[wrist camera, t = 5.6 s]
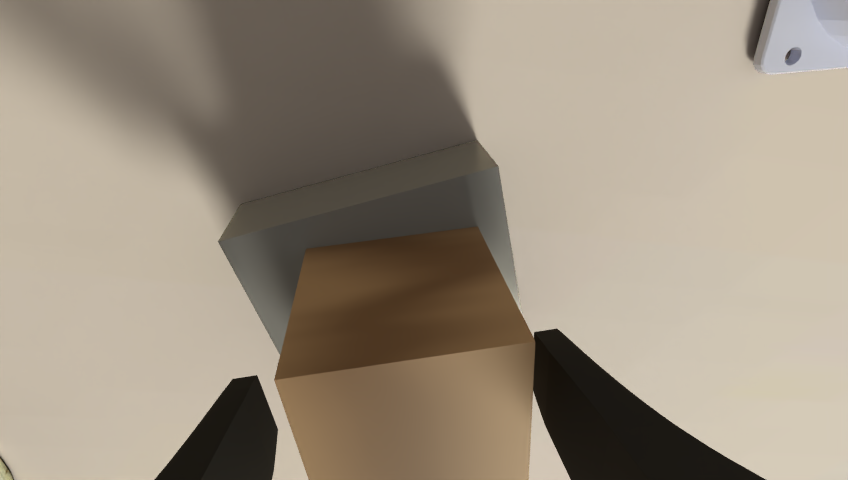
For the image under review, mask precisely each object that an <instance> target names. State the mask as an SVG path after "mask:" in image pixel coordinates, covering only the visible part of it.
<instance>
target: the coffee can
mask: <svg viewBox="0 0 848 480" xmlns="http://www.w3.org/2000/svg"><path fill="white" fill-rule="evenodd" d="M0 480H14V479H13V477H12V475H11V473H10V471H9V470H8V468H7V467H6V465H5V464H4V463H3V461H2V460H1V459H0Z"/></svg>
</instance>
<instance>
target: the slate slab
mask: <svg viewBox="0 0 848 480" xmlns="http://www.w3.org/2000/svg"><path fill="white" fill-rule="evenodd" d="M477 226H478V228H479V230H480V232H481V234H482V236H483V238H484V240H485V242H486V244H487V246H488V248H489V250H490V252H491V254H492V256H493V258H494V260H495V262H496V264H497V266H498V268H499V270H500V272H501V274H502V276H503V278H504V280H505V282H506V284H507V286H508V288H509V290H510V292H511V294H512V296H513V298H514V300H515V302H516V304H517V306H518V308H519V310H520V312H521V314H522V310H521V304H520V298H519V292H518V286H517V279H516V273H515V267H514V261H513V255H512V248H511V242H510V236H509V230H508V224H507V217H506V211H505V205H504V199H503V192H502V186H501V180H500V174H499V168H498V165H497V164H496V163H495V162H494V160H493V159H492V158H491V157H490V155H489V154H488V153H487V152H486V150H485V149H484V148H483V147H482V145H481V144H480V143H479V142H478V140H476V141H473V142H469V143H465V144H461V145H458V146H454V147H450V148H447V149H443V150H439V151H436V152H432V153H428V154H424V155H421V156H417V157H413V158H410V159H406V160H402V161H399V162H395V163H391V164H388V165H384V166H380V167H376V168H373V169H369V170H365V171H362V172H358V173H354V174H351V175H347V176H343V177H339V178H336V179H332V180H328V181H325V182H321V183H317V184H314V185H310V186H306V187H303V188H299V189H295V190H291V191H288V192H284V193H280V194H277V195H273V196H269V197H266V198H262V199H258V200H254V201H251V202H247V203H243V204H241V205H240V207H239V208H238V210H237V211H236V213H235V215H234V216H233V218H232V220H231V221H230V223H229V225H228V226H227V228H226V229H225V231H224V233H223V234H222V236H221V238H220V239H219V241H218V242H219V244H220V246H221V248H222V250H223V252H224V253H225V255H226V257H227V259H228V261H229V263H230V264H231V266H232V268H233V270H234V272H235V274H236V275H237V277H238V279H239V281H240V283H241V284H242V286H243V288H244V290H245V292H246V294H247V295H248V297H249V299H250V301H251V303H252V305H253V306H254V308H255V310H256V312H257V314H258V316H259V317H260V319H261V321H262V323H263V325H264V326H265V328H266V330H267V332H268V334H269V336H270V337H271V339H272V341H273V343H274V345H275V347H276V348H277V350H278V352H279V354H280V355H281V351H282V346H283V342H284V338H285V334H286V330H287V326H288V321H289V317H290V313H291V309H292V305H293V301H294V297H295V292H296V288H297V284H298V280H299V276H300V272H301V268H302V263H303V259H304V255H305V251H306V249H308V248H316V247H324V246H331V245H339V244H347V243H354V242H362V241H370V240H377V239H385V238H393V237H400V236H408V235H416V234H423V233H431V232H439V231H446V230H454V229H462V228H469V227H477Z"/></svg>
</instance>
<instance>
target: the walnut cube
mask: <svg viewBox="0 0 848 480" xmlns="http://www.w3.org/2000/svg"><path fill="white" fill-rule="evenodd" d="M534 359H535V340H534V338H533V336H532V334H531V332H530V330H529V328H528V326H527V324H526V322H525V320H524V318H523V316H522V314H521V312H520V310H519V308H518V306H517V304H516V302H515V300H514V298H513V296H512V294H511V292H510V290H509V288H508V286H507V284H506V282H505V280H504V278H503V276H502V274H501V272H500V270H499V268H498V266H497V264H496V262H495V260H494V258H493V256H492V254H491V252H490V250H489V248H488V246H487V244H486V242H485V240H484V238H483V236H482V234H481V232H480V230H479V228H478V226H477V227H469V228H462V229H454V230H446V231H439V232H431V233H423V234H416V235H408V236H400V237H393V238H385V239H377V240H370V241H362V242H354V243H347V244H339V245H331V246H324V247H316V248H308V249H306V251H305V255H304V259H303V263H302V268H301V272H300V276H299V280H298V284H297V288H296V292H295V297H294V301H293V305H292V309H291V313H290V317H289V321H288V326H287V330H286V334H285V338H284V342H283V346H282V351H281V355H280V359H279V363H278V367H277V371H276V375H275V383H276V386H277V389H278V392H279V395H280V398H281V401H282V404H283V406H284V409H285V412H286V415H287V418H288V421H289V424H290V427H291V430H292V432H293V435H294V438H295V441H296V444H297V447H298V450H299V453H300V456H301V458H302V461H303V464H304V467H305V470H306V473H307V476H308V479H309V480H528V479H529V459H530V439H531V419H532V399H533V379H534Z"/></svg>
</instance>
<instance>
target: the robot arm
mask: <svg viewBox="0 0 848 480" xmlns="http://www.w3.org/2000/svg"><path fill="white" fill-rule="evenodd" d="M790 49H791V53H790V56H789V58H788V59H787V60H786V61H785V56H786V54H787V52H788V51H789V50H790ZM753 64H754V67H755V70H757V71H758V72H760V73H765V74H782V73H794V72H806V71H817V70H829V69H840V68H848V0H770V2H769V6H768V10H767V13H766V17H765V20H764V24H763V27H762V31H761V35H760V38H759V42H758V45H757V49H756V52H755V56H754V63H753ZM534 340H535V359H534V379H533V391H534V394H535V397H536V400H537V403H538V406H539V409H540V412H541V415H542V418H543V420H544V423H545V426H546V428H547V430H548V432H549V434H550V437H551V439H552V441H553V443H554V445H555V447H556V449H557V452H558V454H559V456H560V458H561V460H562V462H563V464H564V466H565V468H566V470H567V473H568V475H569V477H570V479H571V480H766V479H764V478H762V477H760V476H758V475H757V474H755V473H753V472H751V471H750V470H748V469H746V468H744V467H743V466H741V465H739V464H737V463H735V462H734V461H732V460H730V459H728V458H727V457H725V456H723V455H722V454H720V453H718V452H717V451H715V450H713V449H712V448H710V447H708V446H707V445H705V444H704V443H702V442H701V441H699V440H698V439H696V438H694V437H693V436H691V435H690V434H688V433H687V432H685V431H684V430H682V429H681V428H679V427H678V426H676V425H675V424H673V423H672V422H670V421H669V420H668V419H666V418H665V417H663V416H662V415H661V414H659V413H658V412H656V411H655V410H654V409H652V408H651V407H650V406H648V405H647V404H646V403H644V402H643V401H642V400H640V399H639V398H638V397H637V396H635V395H634V394H633V393H631V392H630V391H629V390H628V389H626V388H625V387H624V386H623V385H622V384H620V383H619V382H618V381H617V380H615V379H614V378H613V377H612V376H611V375H609V374H608V373H607V372H606V371H605V370H603V369H602V368H601V367H600V366H599V365H598V364H596V363H595V362H594V361H593V360H592V359H591V358H590V357H588V356H587V355H586V354H585V353H584V352H583V351H582V350H581V349H579V348H578V347H577V346H576V345H575V344H574V343H573V342H572V341H571V340H569V339H568V338H567V337H566V336H565V335H564V334H563V333H562V332H560V331H559V330H558V329H552V330H546V331H539V332H534ZM277 433H278V428H277V426H276V423H275V421H274V418H273V415H272V413H271V410H270V408H269V405H268V402H267V400H266V397H265V395H264V392H263V389H262V387H261V384H260V382H259V379H258V376H257V375H256V376H250V377H243V378H237V379H233V380H232V381H231V382H230V383H229V385H228V386H227V387H226V388H225V390H224V391H223V392H222V394H221V395H220V396H219V398H218V399H217V400H216V402H215V403H214V404H213V406H212V407H211V408H210V410H209V411H208V412H207V414H206V415H205V416H204V418H203V419H202V420H201V422H200V423H199V424H198V426H197V427H196V428H195V430H194V431H193V432H192V434H191V435H190V436H189V437H188V439H187V440H186V441H185V443H184V444H183V445H182V446H181V448H180V449H179V450H178V452H177V453H176V454H175V455H174V457H173V458H172V459H171V460H170V462H169V463H168V464H167V465H166V467H165V468H164V469H163V470H162V471H161V473H160V474H159V475H158V476H157V477H156V479H155V480H272V476H273V471H274V463H275V454H276V444H277Z"/></svg>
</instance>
